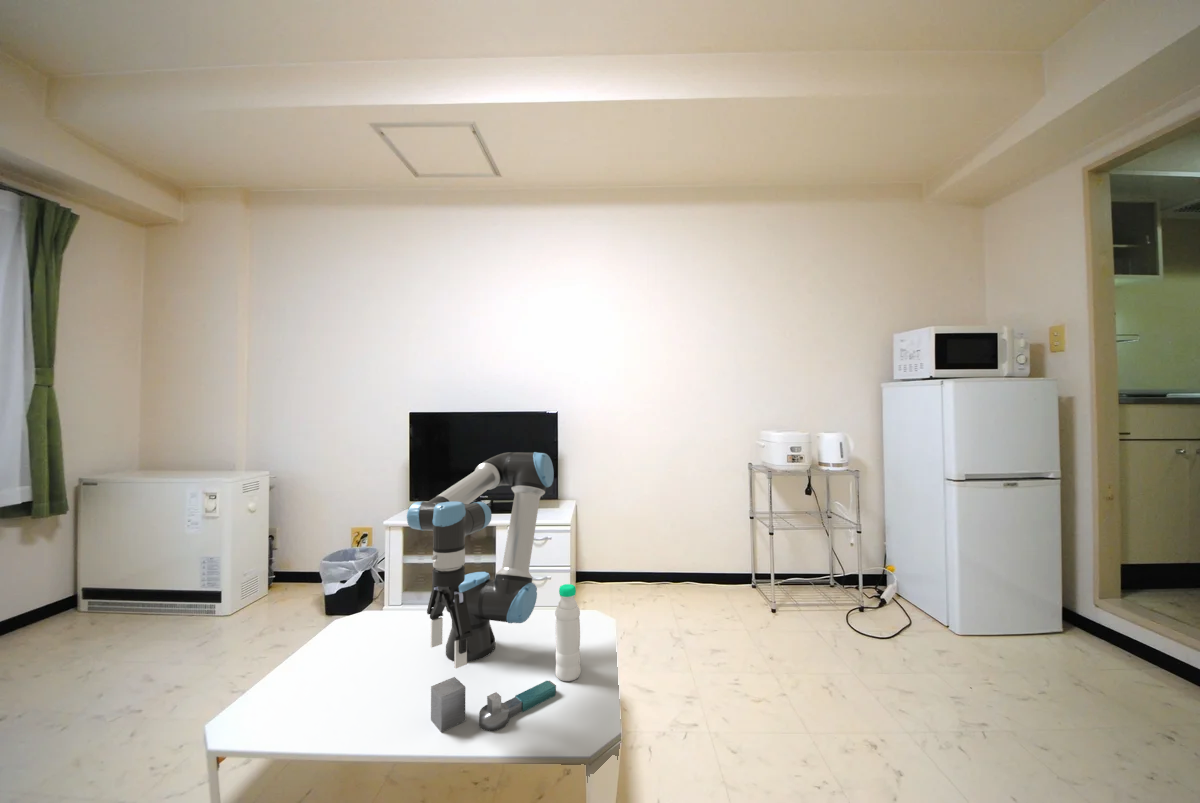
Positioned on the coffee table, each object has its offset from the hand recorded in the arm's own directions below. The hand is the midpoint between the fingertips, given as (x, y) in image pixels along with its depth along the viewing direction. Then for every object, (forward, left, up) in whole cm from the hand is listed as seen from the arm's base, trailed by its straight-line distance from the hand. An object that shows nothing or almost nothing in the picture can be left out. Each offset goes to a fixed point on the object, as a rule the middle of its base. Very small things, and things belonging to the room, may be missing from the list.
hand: (448, 655), depth 111 cm
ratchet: (+8, +15, -16) cm, 23 cm away
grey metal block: (0, 0, -16) cm, 16 cm away
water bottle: (+5, +34, -16) cm, 37 cm away
